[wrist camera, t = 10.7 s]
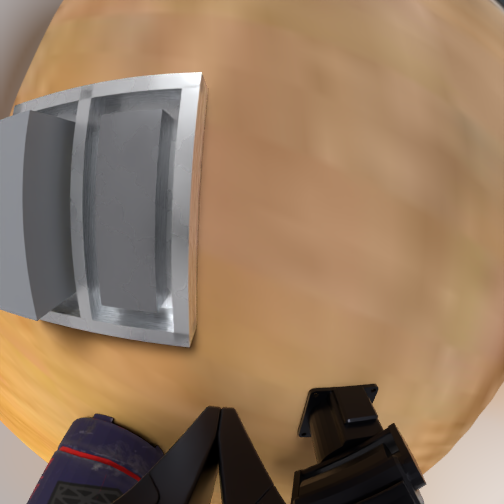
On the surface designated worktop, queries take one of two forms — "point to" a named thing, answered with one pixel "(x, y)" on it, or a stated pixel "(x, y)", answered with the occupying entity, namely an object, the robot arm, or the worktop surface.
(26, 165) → the panel
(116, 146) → the rack
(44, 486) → the grenade
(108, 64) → the worktop surface
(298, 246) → the worktop surface
